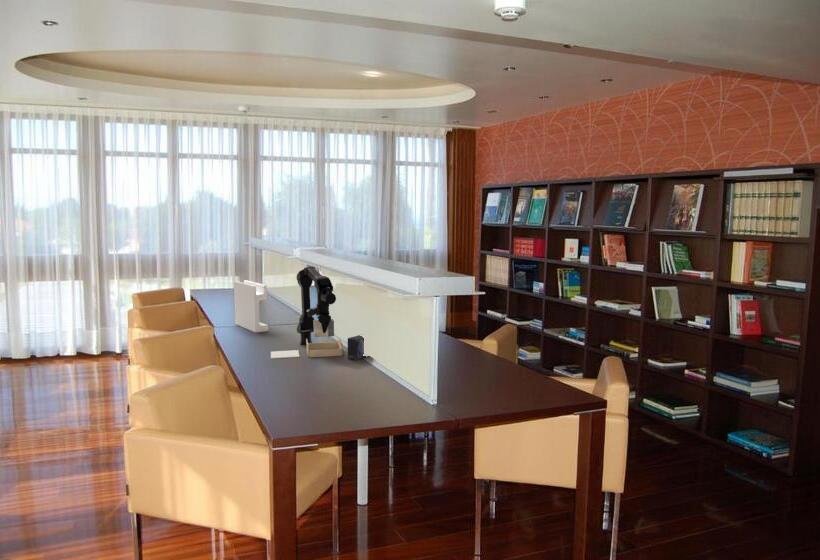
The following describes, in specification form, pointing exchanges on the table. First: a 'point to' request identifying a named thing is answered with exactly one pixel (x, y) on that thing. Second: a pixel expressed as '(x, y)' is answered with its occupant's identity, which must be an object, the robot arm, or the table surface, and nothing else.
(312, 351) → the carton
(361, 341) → the small box
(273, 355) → the white square tile
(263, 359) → the table surface
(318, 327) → the block
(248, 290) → the block
